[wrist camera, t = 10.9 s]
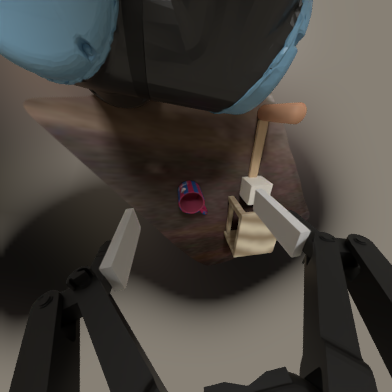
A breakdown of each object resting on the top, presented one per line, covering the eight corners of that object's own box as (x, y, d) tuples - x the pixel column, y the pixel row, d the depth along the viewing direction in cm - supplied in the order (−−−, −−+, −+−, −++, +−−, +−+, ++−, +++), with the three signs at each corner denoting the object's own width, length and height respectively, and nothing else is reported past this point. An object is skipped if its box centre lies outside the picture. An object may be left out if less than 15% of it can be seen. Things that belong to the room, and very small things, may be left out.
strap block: (253, 104, 35) (284, 102, 25) (277, 104, 35) (316, 102, 26) (239, 194, 47) (256, 216, 37) (257, 193, 47) (278, 213, 38)
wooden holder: (228, 195, 46) (242, 215, 38) (266, 193, 48) (287, 211, 39) (223, 233, 54) (233, 257, 45) (256, 230, 56) (271, 252, 47)
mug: (191, 175, 41) (195, 186, 35) (210, 199, 46) (216, 212, 40) (172, 189, 42) (173, 201, 37) (192, 210, 47) (195, 225, 41)
